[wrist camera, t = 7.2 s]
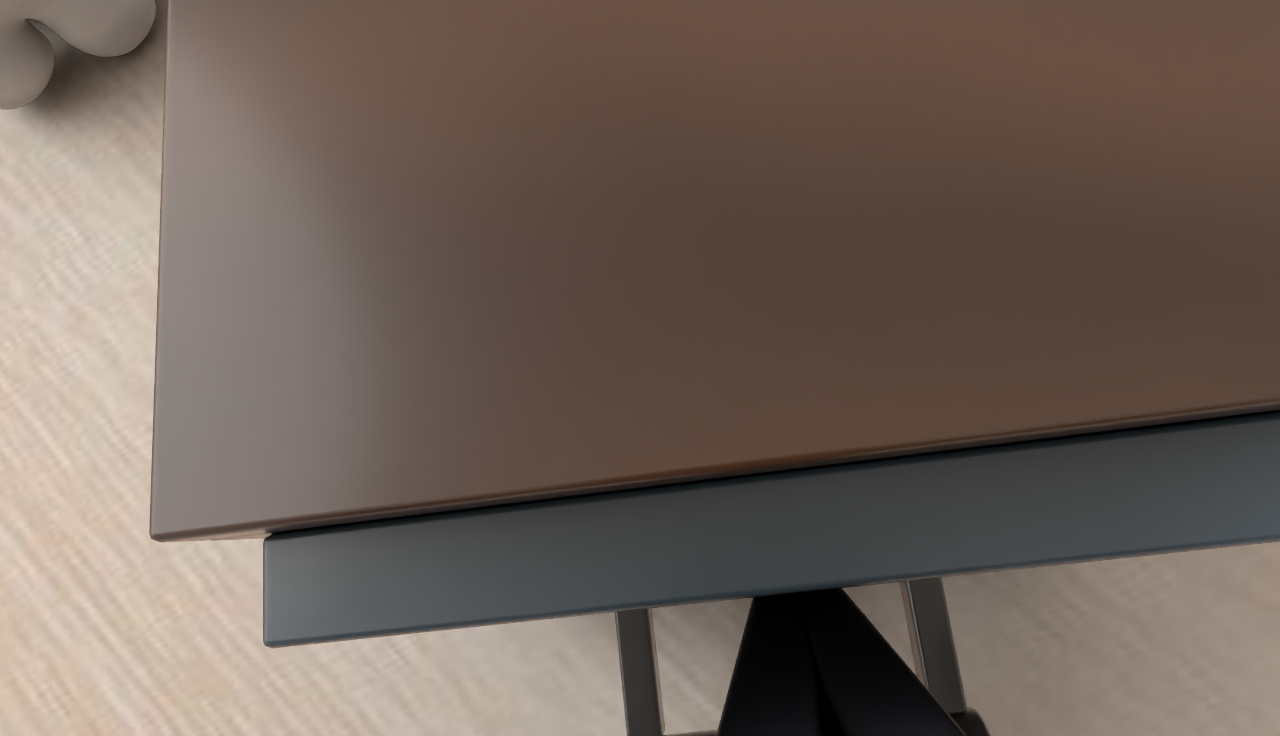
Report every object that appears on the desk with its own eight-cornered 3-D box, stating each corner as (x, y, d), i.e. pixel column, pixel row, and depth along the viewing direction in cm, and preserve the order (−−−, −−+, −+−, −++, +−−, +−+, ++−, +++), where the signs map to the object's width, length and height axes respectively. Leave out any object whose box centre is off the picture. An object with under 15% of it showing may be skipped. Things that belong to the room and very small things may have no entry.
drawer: (1106, 748, 13) (1613, 1055, 6) (506, 798, 14) (258, 1114, 7) (927, -21, 17) (1091, -461, 9) (458, 64, 18) (261, -270, 10)
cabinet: (1051, 461, 15) (1563, 370, 6) (475, 529, 16) (144, 544, 7) (924, -77, 18) (1131, -704, 9) (443, 13, 19) (179, -458, 10)
